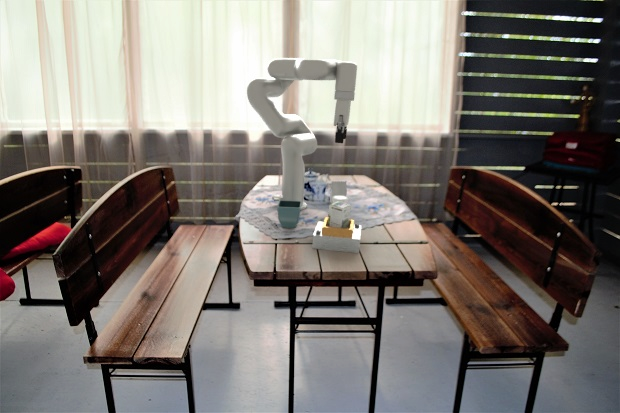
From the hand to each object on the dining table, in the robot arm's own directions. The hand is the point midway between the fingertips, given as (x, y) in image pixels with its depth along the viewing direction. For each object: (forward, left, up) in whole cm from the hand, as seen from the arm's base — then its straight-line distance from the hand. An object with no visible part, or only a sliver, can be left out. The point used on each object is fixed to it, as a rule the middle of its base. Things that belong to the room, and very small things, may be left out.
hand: (340, 140), depth 175 cm
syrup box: (+3, -26, -33) cm, 41 cm away
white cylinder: (+1, +8, -33) cm, 33 cm away
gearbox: (+3, -26, -32) cm, 41 cm away
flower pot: (-17, -13, -33) cm, 39 cm away
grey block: (-1, +23, -33) cm, 40 cm away
